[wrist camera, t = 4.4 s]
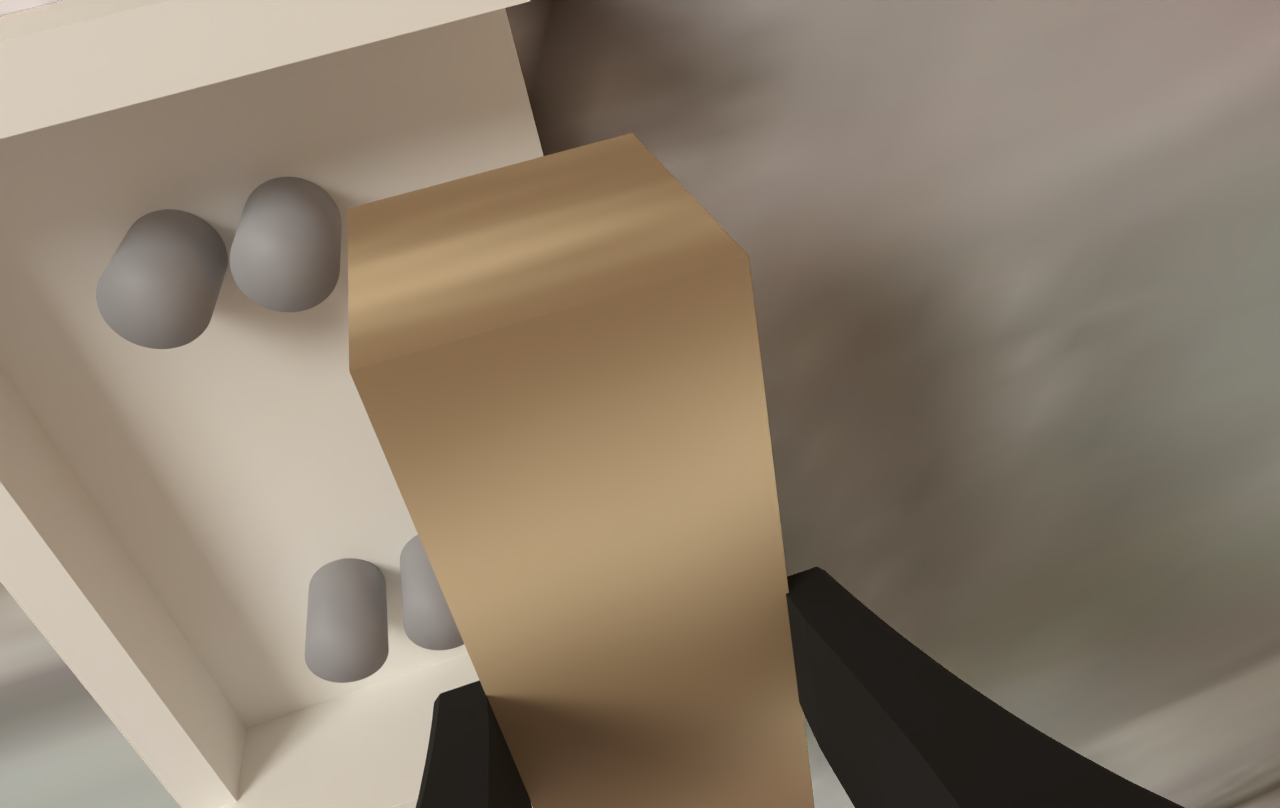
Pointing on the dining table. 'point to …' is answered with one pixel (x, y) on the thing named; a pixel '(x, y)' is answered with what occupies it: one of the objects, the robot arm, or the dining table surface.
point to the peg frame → (228, 374)
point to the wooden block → (590, 472)
